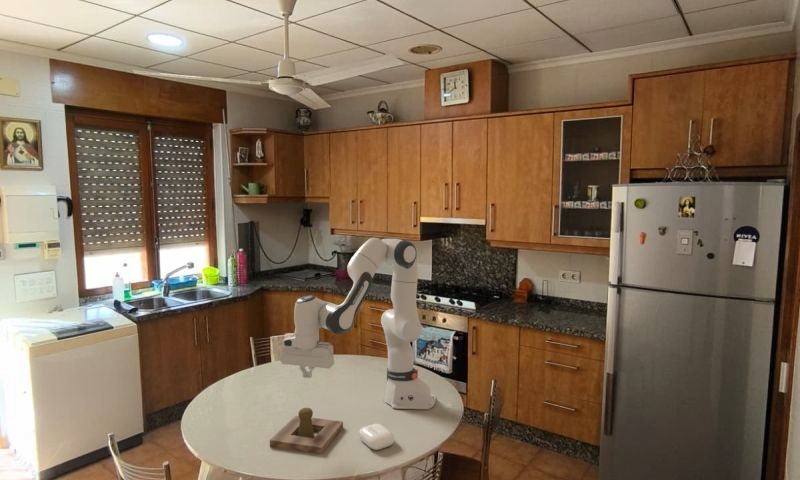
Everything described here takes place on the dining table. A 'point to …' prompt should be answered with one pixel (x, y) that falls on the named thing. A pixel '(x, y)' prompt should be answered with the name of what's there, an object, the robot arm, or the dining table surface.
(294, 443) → the walnut dock
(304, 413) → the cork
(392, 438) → the earbud case
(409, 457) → the dining table surface
